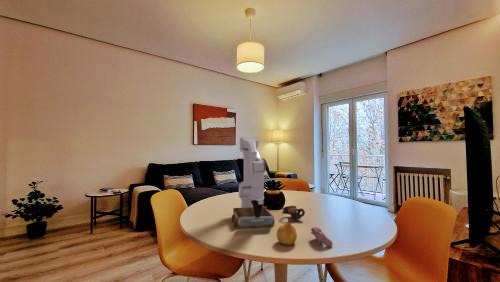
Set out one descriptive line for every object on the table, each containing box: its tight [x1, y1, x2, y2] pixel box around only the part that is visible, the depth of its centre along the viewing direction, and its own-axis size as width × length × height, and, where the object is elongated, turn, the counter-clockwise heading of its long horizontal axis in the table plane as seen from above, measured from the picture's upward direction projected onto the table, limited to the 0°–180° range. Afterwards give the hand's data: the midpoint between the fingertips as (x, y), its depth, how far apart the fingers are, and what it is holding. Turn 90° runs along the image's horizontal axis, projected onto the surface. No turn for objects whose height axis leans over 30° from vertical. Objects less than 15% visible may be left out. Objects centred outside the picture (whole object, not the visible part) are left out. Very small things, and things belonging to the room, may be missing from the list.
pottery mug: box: [281, 205, 306, 223], centre depth 124 cm, size 12×10×8 cm
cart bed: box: [231, 206, 275, 230], centre depth 118 cm, size 20×14×6 cm
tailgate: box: [239, 215, 275, 226], centre depth 108 cm, size 16×2×6 cm
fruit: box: [276, 222, 298, 246], centre depth 93 cm, size 8×8×8 cm
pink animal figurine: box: [310, 226, 333, 247], centre depth 94 cm, size 10×5×7 cm, turn 6°
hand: (257, 216), depth 107 cm, fingers closed
